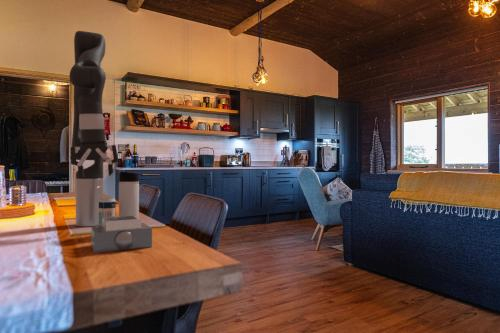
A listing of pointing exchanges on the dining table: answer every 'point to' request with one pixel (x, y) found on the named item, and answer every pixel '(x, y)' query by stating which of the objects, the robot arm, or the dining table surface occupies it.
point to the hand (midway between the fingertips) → (96, 176)
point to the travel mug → (128, 194)
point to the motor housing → (120, 234)
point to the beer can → (106, 208)
